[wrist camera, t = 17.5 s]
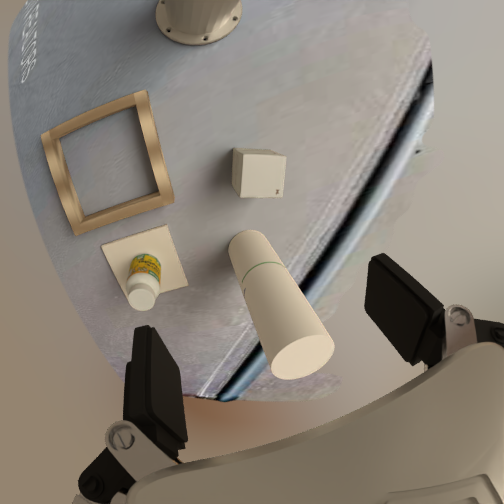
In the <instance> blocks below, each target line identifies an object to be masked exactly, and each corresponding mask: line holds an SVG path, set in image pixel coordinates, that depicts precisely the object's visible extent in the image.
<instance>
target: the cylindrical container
mask: <svg viewBox="0 0 504 504" xmlns="http://www.w3.org/2000/svg"><path fill="white" fill-rule="evenodd" d="M228 253H229V257H230V259H231V262H232V265H233V268H234V271H235V274H236V276H237V279H238V282H239V285H240V287H241V290H242V293H243V296H244V298H245V301H246V304H247V307H248V309H249V312H250V315H251V318H252V320H253V323H254V326H255V328H256V331H257V334H258V336H259V339H260V342H261V344H262V347H263V350H264V352H265V355H266V358H267V360H268V363H269V365H270V368H271V371H272V373H273V374H274V375H275V376H276V377H278V378H281V379H297V378H301V377H304V376H307V375H309V374H311V373H313V372H315V371H316V370H318V369H319V368H321V367H322V366H323V365H324V364H325V363H326V362H327V361H328V360H329V359H330V357H331V356H332V354H333V352H334V342H333V341H332V339H331V337H330V335H329V334H328V332H327V331H326V329H325V327H324V326H323V324H322V323H321V321H320V320H319V318H318V317H317V315H316V313H315V312H314V310H313V309H312V307H311V306H310V304H309V303H308V301H307V299H306V298H305V296H304V295H303V293H302V292H301V290H300V289H299V287H298V286H297V284H296V283H295V281H294V280H293V278H292V277H291V275H290V273H289V272H288V270H287V269H286V267H285V266H284V264H283V263H282V261H281V260H280V258H279V257H278V255H277V254H276V252H275V251H274V249H273V248H272V246H271V245H270V243H269V242H268V240H267V239H266V237H265V236H264V235H263V234H262V233H260V232H258V231H255V230H246V231H243V232H240V233H238V234H237V235H236V236H235V237H234V238H233V239H232V240H231V242H230V244H229V248H228Z"/></svg>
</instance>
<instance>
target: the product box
mask: <svg viewBox="0 0 504 504" xmlns="http://www.w3.org/2000/svg"><path fill="white" fill-rule="evenodd" d="M285 166H286V156H284V155H281V154H279V153H277V152H274V151H272V150H258V149H243V148H233V163H232V186H233V188H234V189H235V191H236V192H237V194H238V196H239V197H240V198H282V195H283V185H284V176H285Z"/></svg>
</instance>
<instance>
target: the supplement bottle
mask: <svg viewBox="0 0 504 504" xmlns="http://www.w3.org/2000/svg"><path fill="white" fill-rule="evenodd" d="M160 280H161V264H160V261H159V260H158V258H157V257H156V256H154V255H153V254H150V253H141V254H138V255H136V256H135V257H134V258H133V259H132V261H131V265H130V269H129V273H128V277H127V282H126V292H127V294H128V302H129V304H130V305H131V306H132V307H133V308H134V309H136V310H139V311H146V310H149V309H151V308H152V307H153V306H154V304H155V299H156V298H157V297H158V295H159V293H160Z"/></svg>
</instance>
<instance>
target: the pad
mask: <svg viewBox="0 0 504 504" xmlns="http://www.w3.org/2000/svg"><path fill="white" fill-rule="evenodd" d="M101 247H102V249H103V252H104V254H105V256H106V258H107V260H108V262H109V264H110V266H111V268H112V271H113V273H114V275H115V277H116V279H117V281H118V282H119V284H120V286H121V288H122V290H123V292H124V294H125V296H126V298H127V300H128V294H127V292H126V282H127V277H128V273H129V269H130V265H131V261H132V259H133V258H134V257H135V256H136V255H138V254H141V253H150V254H153V255H154V256H156V257H157V258H158V260H159V261H160V264H161V280H160V293H163V292H166V291H170V290H174V289H177V288H181V287H184V286H188V281H187V279H186V276H185V274H184V271H183V268H182V265H181V263H180V260H179V257H178V255H177V252H176V249H175V246H174V243H173V240H172V238H171V235H170V232H169V229H168V226H167V224H166V225H162V226H159V227H156V228H153V229H149V230H146V231H143V232H140V233H137V234H134V235H130V236H127V237H124V238H121V239H118V240H115V241H112V242H109V243H106V244H103V245H102V246H101Z"/></svg>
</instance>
